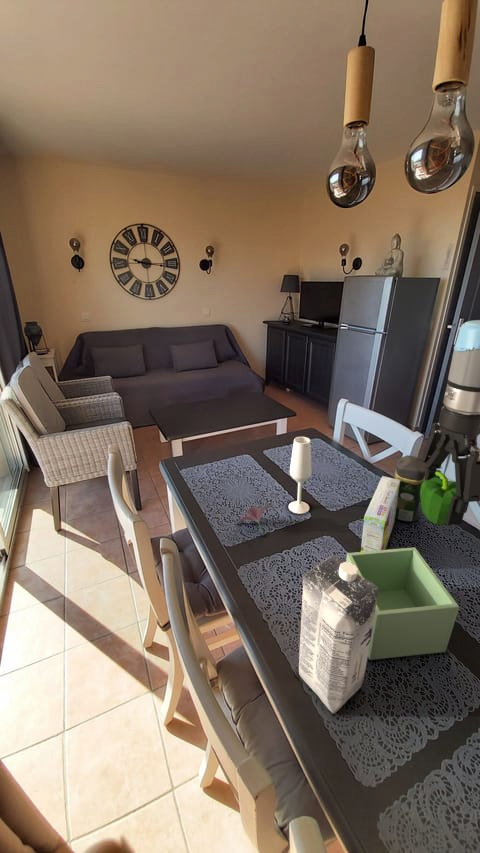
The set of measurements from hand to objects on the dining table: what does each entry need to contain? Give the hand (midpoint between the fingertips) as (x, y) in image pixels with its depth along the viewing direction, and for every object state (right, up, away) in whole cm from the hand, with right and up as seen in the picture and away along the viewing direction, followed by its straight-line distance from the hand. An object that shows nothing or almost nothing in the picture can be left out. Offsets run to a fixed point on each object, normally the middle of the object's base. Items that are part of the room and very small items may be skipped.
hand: (440, 509), depth 76 cm
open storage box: (-10, -25, +3) cm, 27 cm away
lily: (-37, -13, +32) cm, 51 cm away
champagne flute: (-23, -9, +40) cm, 47 cm away
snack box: (-4, -15, +25) cm, 29 cm away
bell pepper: (0, -2, +1) cm, 2 cm away
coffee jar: (+8, -10, +36) cm, 38 cm away
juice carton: (-26, -31, -8) cm, 41 cm away
